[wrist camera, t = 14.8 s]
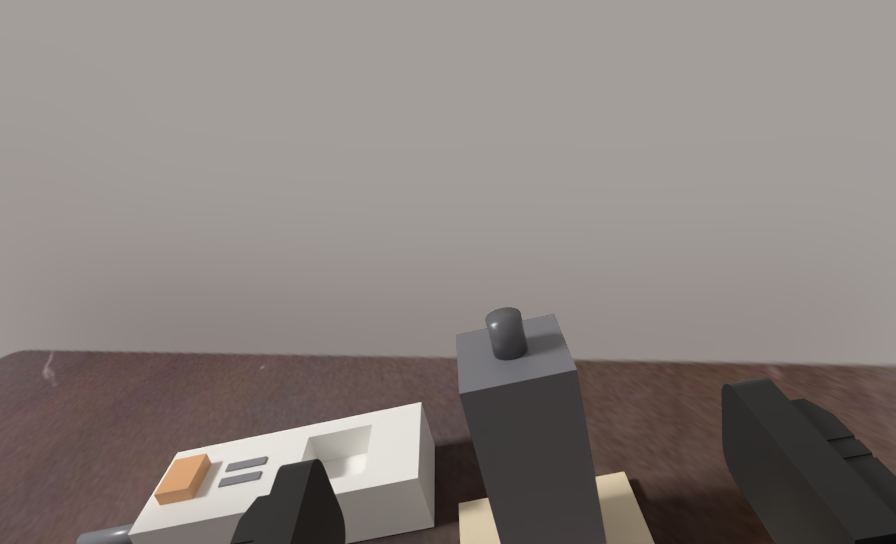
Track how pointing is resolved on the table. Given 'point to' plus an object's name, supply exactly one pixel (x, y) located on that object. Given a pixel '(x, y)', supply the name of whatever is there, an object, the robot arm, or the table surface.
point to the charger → (529, 430)
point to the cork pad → (618, 510)
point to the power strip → (258, 459)
